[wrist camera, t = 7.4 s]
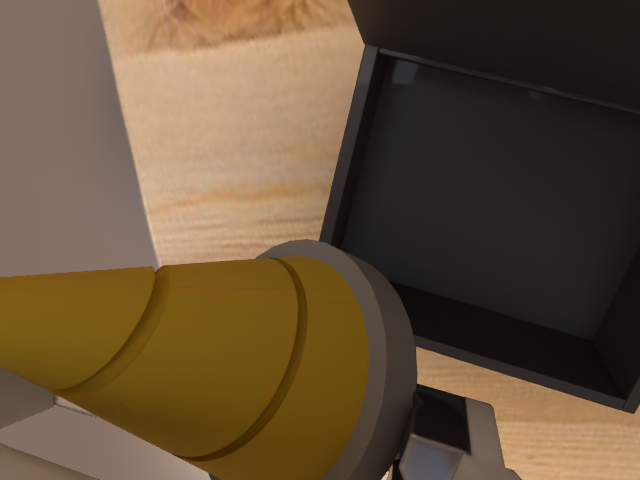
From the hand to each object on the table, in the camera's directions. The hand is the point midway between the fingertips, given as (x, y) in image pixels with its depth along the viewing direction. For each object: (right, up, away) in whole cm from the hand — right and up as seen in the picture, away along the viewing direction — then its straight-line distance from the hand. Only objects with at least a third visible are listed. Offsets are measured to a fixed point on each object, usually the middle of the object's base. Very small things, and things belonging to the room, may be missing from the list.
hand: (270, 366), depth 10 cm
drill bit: (0, +1, +3) cm, 3 cm away
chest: (+11, +5, +17) cm, 21 cm away
